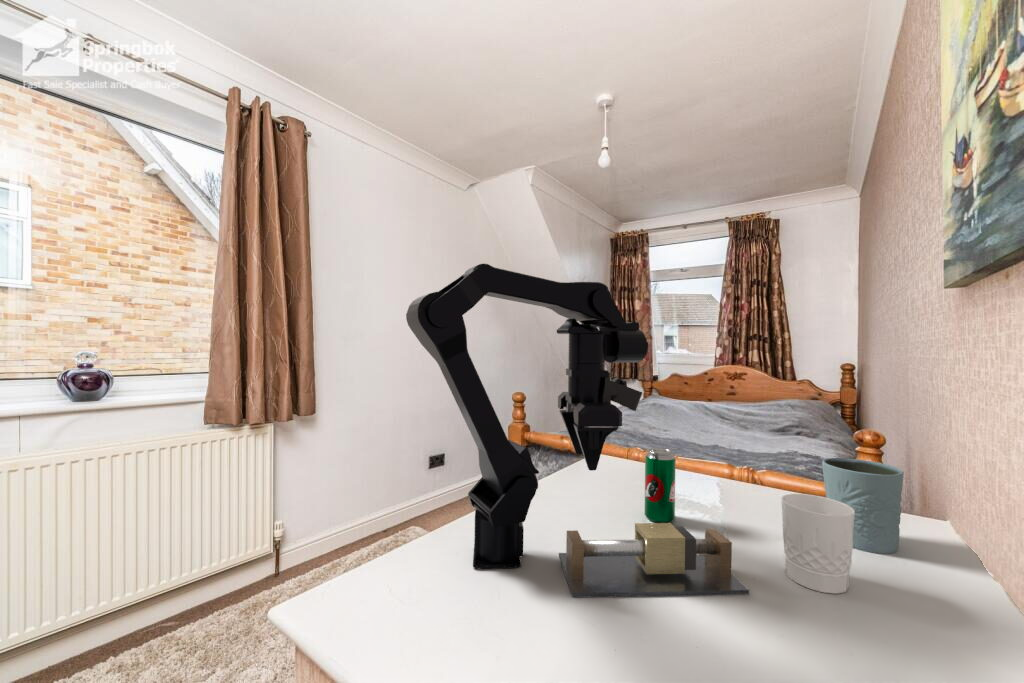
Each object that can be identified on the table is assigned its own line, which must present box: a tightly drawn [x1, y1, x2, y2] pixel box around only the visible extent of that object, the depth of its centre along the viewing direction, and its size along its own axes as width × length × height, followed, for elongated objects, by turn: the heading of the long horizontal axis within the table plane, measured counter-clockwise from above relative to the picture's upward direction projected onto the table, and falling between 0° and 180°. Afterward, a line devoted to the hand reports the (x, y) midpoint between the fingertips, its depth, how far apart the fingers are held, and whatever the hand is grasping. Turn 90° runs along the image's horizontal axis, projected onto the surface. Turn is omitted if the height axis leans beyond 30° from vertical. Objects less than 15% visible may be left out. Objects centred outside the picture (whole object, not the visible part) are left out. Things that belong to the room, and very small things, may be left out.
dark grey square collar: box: [673, 525, 697, 570], centre depth 58 cm, size 2×4×4 cm, turn 3°
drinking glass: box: [821, 457, 904, 555], centre depth 69 cm, size 10×10×12 cm
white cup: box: [781, 493, 855, 595], centre depth 57 cm, size 8×8×10 cm
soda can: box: [644, 447, 676, 523], centre depth 76 cm, size 5×5×12 cm
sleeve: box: [634, 522, 685, 574], centre depth 58 cm, size 5×5×5 cm
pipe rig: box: [558, 528, 750, 598], centre depth 58 cm, size 22×10×5 cm, turn 93°
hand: (585, 461), depth 68 cm, fingers open, 9 cm apart
